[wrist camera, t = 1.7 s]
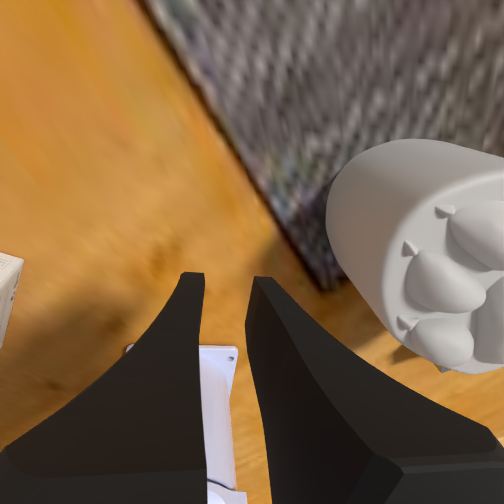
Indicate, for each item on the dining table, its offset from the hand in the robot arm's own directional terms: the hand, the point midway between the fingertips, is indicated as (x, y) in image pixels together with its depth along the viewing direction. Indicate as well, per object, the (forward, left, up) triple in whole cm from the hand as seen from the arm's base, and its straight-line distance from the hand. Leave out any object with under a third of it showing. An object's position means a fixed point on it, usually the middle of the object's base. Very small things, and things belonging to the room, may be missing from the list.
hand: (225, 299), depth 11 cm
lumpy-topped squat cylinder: (0, -13, -10) cm, 16 cm away
